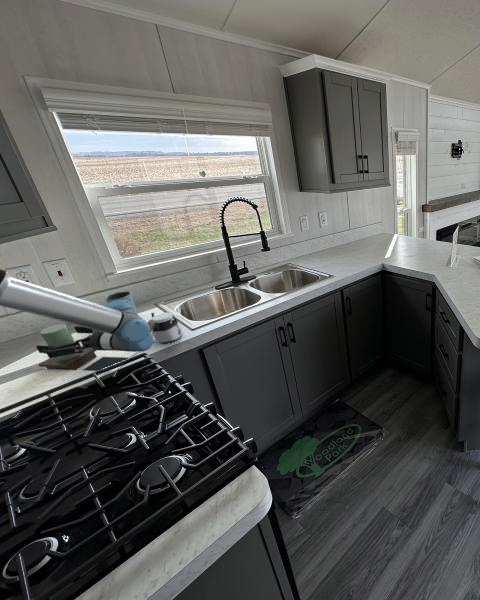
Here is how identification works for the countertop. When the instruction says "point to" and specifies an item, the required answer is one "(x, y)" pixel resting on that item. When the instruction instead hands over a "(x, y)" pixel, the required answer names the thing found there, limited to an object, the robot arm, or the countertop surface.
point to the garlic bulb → (151, 322)
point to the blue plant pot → (122, 298)
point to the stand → (70, 361)
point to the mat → (104, 363)
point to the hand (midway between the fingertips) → (58, 338)
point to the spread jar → (165, 328)
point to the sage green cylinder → (58, 338)
